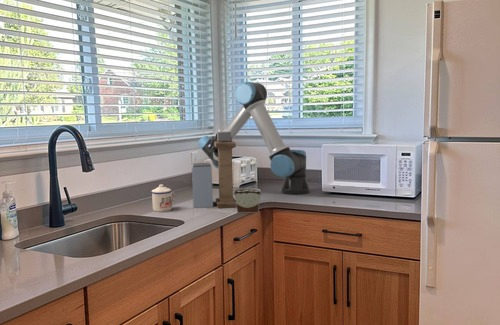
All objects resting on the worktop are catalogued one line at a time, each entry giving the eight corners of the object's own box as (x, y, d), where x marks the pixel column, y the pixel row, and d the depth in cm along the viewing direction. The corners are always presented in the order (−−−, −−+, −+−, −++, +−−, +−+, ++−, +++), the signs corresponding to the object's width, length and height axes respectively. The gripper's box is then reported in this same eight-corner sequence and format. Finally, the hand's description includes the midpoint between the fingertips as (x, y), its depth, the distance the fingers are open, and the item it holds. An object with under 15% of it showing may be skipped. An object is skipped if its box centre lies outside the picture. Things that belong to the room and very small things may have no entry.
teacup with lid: (160, 212, 196) (159, 187, 194) (148, 210, 201) (147, 185, 200) (181, 208, 205) (180, 183, 203) (168, 205, 210) (167, 181, 209)
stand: (215, 202, 216) (214, 141, 213) (233, 201, 218) (232, 141, 214) (217, 208, 203) (215, 143, 199) (237, 207, 204) (235, 142, 200)
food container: (262, 209, 198) (262, 187, 197) (261, 212, 192) (261, 190, 191) (235, 209, 199) (235, 187, 198) (233, 212, 193) (233, 190, 192)
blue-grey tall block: (193, 202, 216) (191, 163, 214) (211, 202, 217) (210, 162, 215) (193, 207, 205) (192, 166, 203) (212, 206, 206) (211, 165, 204)
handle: (215, 138, 223) (215, 131, 222) (227, 138, 224) (227, 130, 223) (218, 141, 204) (218, 132, 204) (231, 140, 205) (230, 132, 205)
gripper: (235, 157, 236) (238, 137, 214) (206, 158, 234) (207, 138, 212) (234, 145, 239) (237, 124, 217) (205, 146, 237) (206, 125, 215)
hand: (222, 131), depth 215 cm, fingers closed on handle, 2 cm apart
